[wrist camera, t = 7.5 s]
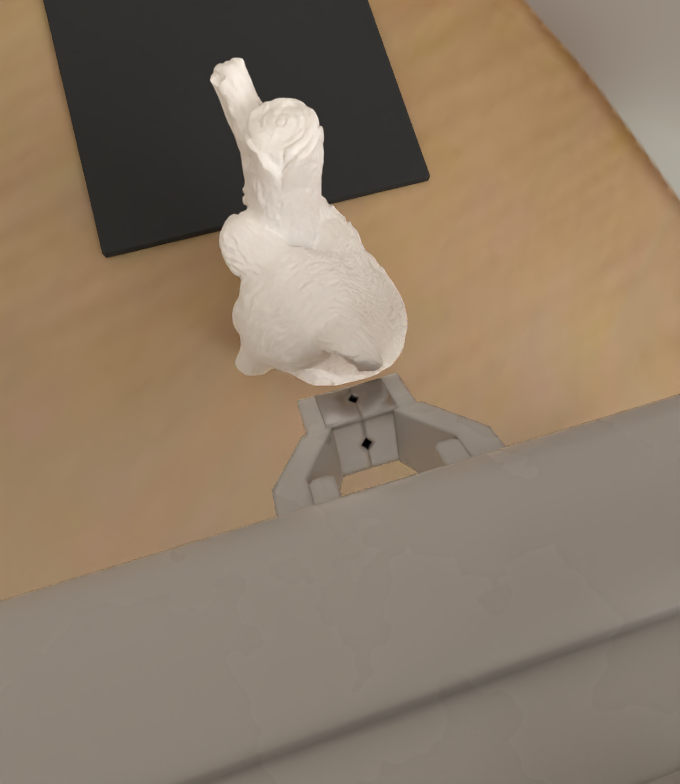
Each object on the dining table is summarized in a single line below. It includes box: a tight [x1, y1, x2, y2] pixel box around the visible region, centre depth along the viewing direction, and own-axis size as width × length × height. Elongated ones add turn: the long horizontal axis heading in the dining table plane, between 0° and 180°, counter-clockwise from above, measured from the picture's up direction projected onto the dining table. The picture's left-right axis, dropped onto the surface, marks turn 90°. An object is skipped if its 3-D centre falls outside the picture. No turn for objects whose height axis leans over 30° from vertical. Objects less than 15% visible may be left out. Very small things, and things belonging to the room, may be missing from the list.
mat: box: [44, 0, 430, 257], centre depth 26 cm, size 20×16×1 cm
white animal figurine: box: [210, 58, 408, 386], centre depth 18 cm, size 8×7×12 cm
